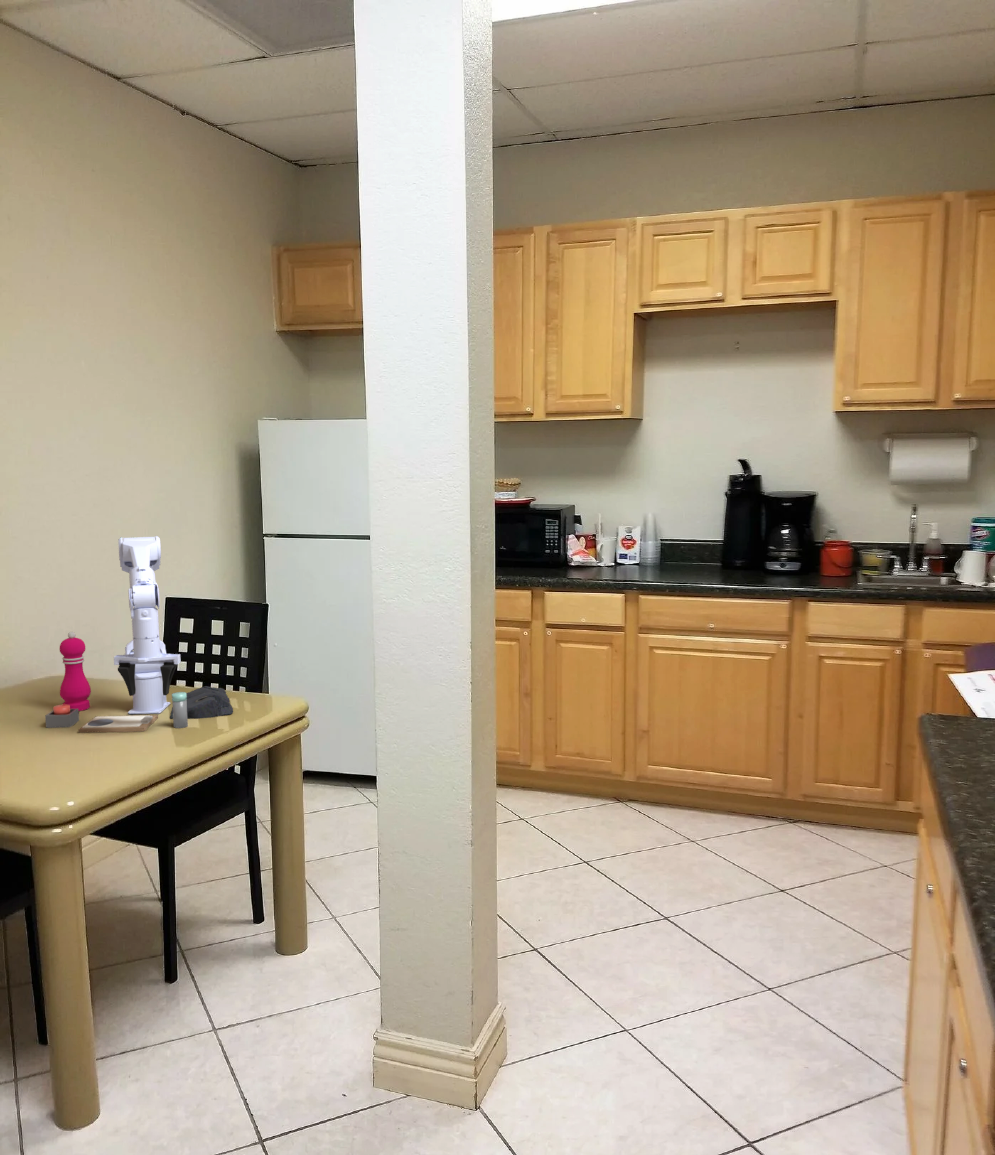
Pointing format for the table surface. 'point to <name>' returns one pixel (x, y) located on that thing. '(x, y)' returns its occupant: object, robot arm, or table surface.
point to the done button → (61, 709)
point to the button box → (62, 719)
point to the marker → (179, 709)
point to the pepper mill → (74, 674)
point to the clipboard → (118, 723)
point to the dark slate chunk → (207, 703)
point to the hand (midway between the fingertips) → (149, 694)
